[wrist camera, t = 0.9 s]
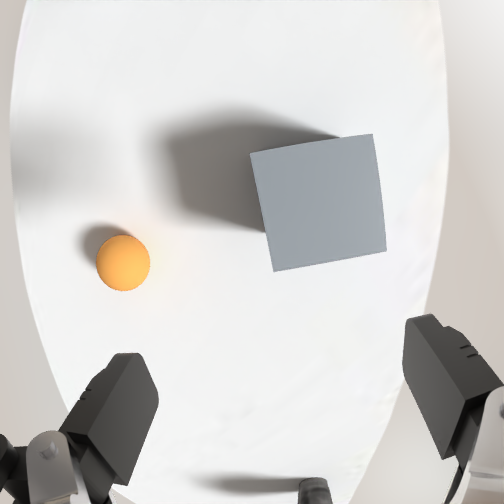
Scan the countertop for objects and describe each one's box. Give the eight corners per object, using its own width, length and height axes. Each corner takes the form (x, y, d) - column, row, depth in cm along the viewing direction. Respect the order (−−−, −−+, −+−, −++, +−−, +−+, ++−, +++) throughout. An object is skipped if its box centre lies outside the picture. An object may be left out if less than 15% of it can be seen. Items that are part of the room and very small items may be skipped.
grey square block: (256, 151, 26) (249, 153, 18) (340, 137, 25) (372, 133, 17) (272, 234, 28) (273, 272, 20) (353, 220, 27) (386, 251, 19)
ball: (105, 234, 29) (79, 250, 24) (149, 223, 28) (127, 239, 24) (120, 281, 31) (97, 303, 26) (163, 274, 30) (145, 296, 25)
